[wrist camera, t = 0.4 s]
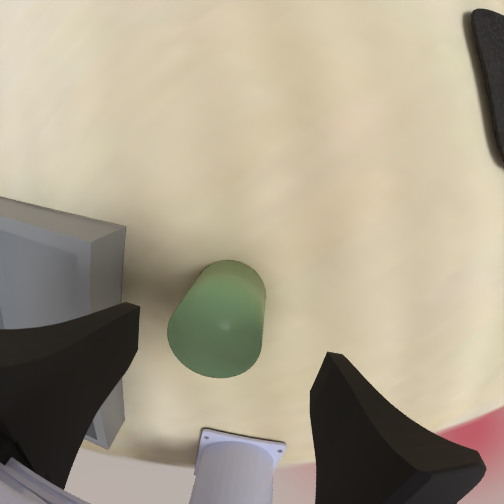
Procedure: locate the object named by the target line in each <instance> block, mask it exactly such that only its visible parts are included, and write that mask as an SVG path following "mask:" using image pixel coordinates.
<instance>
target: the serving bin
mask: <svg viewBox="0 0 504 504" xmlns="http://www.w3.org/2000/svg"><path fill="white" fill-rule="evenodd" d="M125 232H126V226H122V225H118V224H114V223H109V222H105V221H101V220H96V219H92V218H88V217H84V216H79V215H75V214H71V213H67V212H62V211H58V210H54V209H50V208H46V207H41V206H37V205H33V204H29V203H24V202H20V201H16V200H12V199H8V198H3V197H0V329H23V328H34V327H42V326H47V325H53V324H57V323H62V322H66V321H69V320H72V319H76V318H79V317H83V316H86V315H89V314H92V313H95V312H97V311H100V310H103V309H106V308H109V307H112V306H115V305H118V304H121V288H122V269H123V255H124V243H125ZM124 420H125V415H124V404H123V390H122V378H121V379H120V381H119V382H118V383H117V385H116V386H115V388H114V389H113V390H112V392H111V393H110V395H109V396H108V397H107V399H106V400H105V401H104V403H103V404H102V406H101V407H100V409H99V410H98V412H97V414H96V415H95V417H94V419H93V421H92V423H91V425H90V427H89V429H88V431H87V433H86V435H85V437H84V439H85V440H87V441H90V442H92V443H94V444H96V445H98V446H101V447H103V448H105V449H108V450H109V448H110V446H111V444H112V442H113V440H114V439H115V437H116V435H117V433H118V431H119V429H120V428H121V426H122V424H123V422H124Z"/></svg>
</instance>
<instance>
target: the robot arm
mask: <svg viewBox="0 0 504 504" xmlns="http://www.w3.org/2000/svg"><path fill="white" fill-rule="evenodd" d="M139 315H140V306H136V305H133V304H130V303H127V302H125V303H121V304H118V305H115V306H112V307H109V308H106V309H103V310H100V311H97V312H95V313H92V314H89V315H86V316H83V317H79V318H76V319H72V320H69V321H66V322H62V323H57V324H53V325H47V326H42V327H34V328H23V329H0V504H90V503H88V502H85V501H84V500H81V499H80V498H78V497H76V496H74V495H72V494H70V493H68V492H66V491H64V488H65V485H66V482H67V479H68V476H69V473H70V470H71V467H72V465H73V462H74V460H75V457H76V455H77V453H78V450H79V448H80V446H81V444H82V441H83V439H84V437H85V435H86V433H87V431H88V429H89V427H90V425H91V423H92V421H93V419H94V417H95V415H96V414H97V412H98V410H99V409H100V407H101V406H102V404H103V403H104V401H105V400H106V399H107V397H108V396H109V395H110V393H111V392H112V390H113V389H114V388H115V386H116V385H117V383H118V382H119V381H120V379H121V378H122V376H123V375H124V374H125V372H126V371H127V369H128V368H129V366H130V364H131V362H132V360H133V358H134V356H135V354H136V352H137V350H138V333H139ZM310 419H311V427H312V434H313V442H314V449H315V457H316V499H315V500H316V501H315V504H457V502H458V501H459V500H461V499H462V498H463V497H464V496H465V495H466V494H467V493H469V492H470V491H471V490H472V489H473V488H474V487H475V486H476V485H477V484H478V483H479V482H480V481H481V479H482V478H483V476H484V474H485V471H486V466H485V464H484V462H483V460H482V458H481V456H480V454H479V453H478V452H477V451H476V450H473V449H470V448H467V447H464V446H461V445H458V444H456V443H453V442H451V441H448V440H446V439H444V438H442V437H440V436H438V435H436V434H434V433H432V432H430V431H429V430H427V429H425V428H424V427H422V426H420V425H419V424H417V423H416V422H414V421H413V420H411V419H410V418H408V417H407V416H406V415H404V414H403V413H402V412H401V411H399V410H398V409H397V408H395V407H394V406H393V405H392V404H391V403H390V402H388V401H387V400H386V399H385V398H384V397H383V396H382V395H381V394H380V393H379V392H378V391H377V390H376V389H375V388H374V387H373V386H372V385H371V384H370V383H369V382H368V381H367V380H366V379H365V378H364V377H363V376H362V374H361V373H360V372H359V371H358V370H357V369H356V368H355V367H354V366H353V365H352V364H351V362H350V361H349V360H348V359H347V358H346V357H345V356H344V355H342V354H338V353H332V352H327V354H326V356H325V358H324V361H323V363H322V366H321V368H320V370H319V372H318V375H317V377H316V379H315V382H314V384H313V386H312V388H311V390H310ZM285 450H286V444H285V443H280V442H273V441H266V440H260V439H254V438H248V437H243V436H238V435H233V434H228V433H223V432H219V431H214V430H210V429H204V430H203V431H202V435H201V440H200V445H199V451H198V456H197V461H196V467H195V472H194V475H195V476H196V479H195V483H194V487H193V490H192V494H191V498H190V502H189V504H272V492H273V471H274V470H275V468H276V466H277V464H278V463H279V461H280V459H281V457H282V456H283V454H284V452H285Z"/></svg>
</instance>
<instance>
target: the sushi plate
mask: <svg viewBox="0 0 504 504" xmlns="http://www.w3.org/2000/svg"><path fill="white" fill-rule="evenodd" d="M472 26H473V31H474V36H475V40H476V44H477V47H478V51H479V55H480V59H481V63H482V67H483V72H484V76H485V80H486V85H487V90H488V95H489V101H490V106H491V112H492V118H493V124H494V129H495V134H496V139H497V143H498V147H499V150H500V154H501V156H502V158H503V161H504V16H503V15H501V14H499V13H496V12H493V11H490V10H487V9H476V10H474V11H473V12H472Z"/></svg>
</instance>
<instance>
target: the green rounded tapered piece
mask: <svg viewBox="0 0 504 504" xmlns="http://www.w3.org/2000/svg"><path fill="white" fill-rule="evenodd" d="M265 298H266V292H265V287H264V284H263V281H262V279H261V278H260V276H259V275H258V273H257V272H256V271H255V270H254V269H252V268H251V267H250V266H248V265H246V264H244V263H242V262H238V261H234V260H222V261H218V262H215V263H213V264H211V265H209V266H208V267H206V268H205V269H204V270H203V271H202V273H201V274H200V275H199V277H198V278H197V280H196V281H195V282H194V284H193V285H192V287H191V288H190V290H189V291H188V293H187V294H186V296H185V297H184V299H183V300H182V301H181V303H180V304H179V306H178V307H177V309H176V310H175V312H174V313H173V315H172V317H171V318H170V321H169V324H168V329H167V336H168V341H169V345H170V347H171V349H172V351H173V353H174V355H175V356H176V357H177V359H178V360H179V361H180V362H181V363H182V364H184V365H185V366H186V367H187V368H189V369H190V370H192V371H194V372H196V373H198V374H201V375H204V376H207V377H212V378H229V377H233V376H237V375H239V374H242V373H244V372H245V371H247V370H248V369H249V368H251V367H252V366H253V365H254V363H255V362H256V361H257V359H258V357H259V355H260V352H261V346H262V334H263V323H264V310H265Z"/></svg>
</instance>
